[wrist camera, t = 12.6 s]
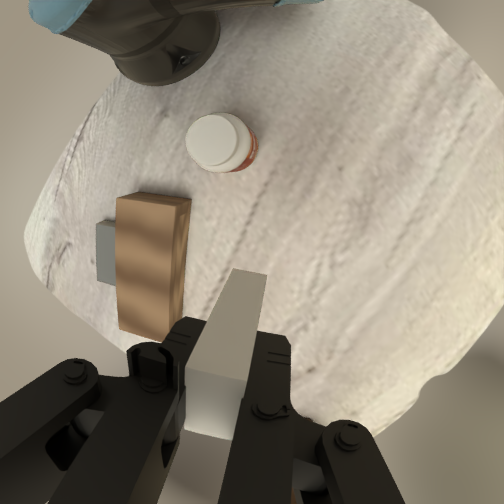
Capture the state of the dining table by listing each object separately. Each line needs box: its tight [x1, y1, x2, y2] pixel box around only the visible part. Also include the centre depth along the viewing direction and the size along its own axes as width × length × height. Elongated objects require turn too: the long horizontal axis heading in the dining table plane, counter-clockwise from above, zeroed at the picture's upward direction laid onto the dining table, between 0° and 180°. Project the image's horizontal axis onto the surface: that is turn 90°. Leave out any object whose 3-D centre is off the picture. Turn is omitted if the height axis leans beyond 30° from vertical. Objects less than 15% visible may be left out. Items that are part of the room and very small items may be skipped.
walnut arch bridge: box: [115, 192, 192, 342], centre depth 37 cm, size 19×8×6 cm, turn 171°
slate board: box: [96, 220, 116, 286], centre depth 39 cm, size 9×11×3 cm
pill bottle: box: [186, 112, 258, 173], centre depth 29 cm, size 6×6×11 cm
